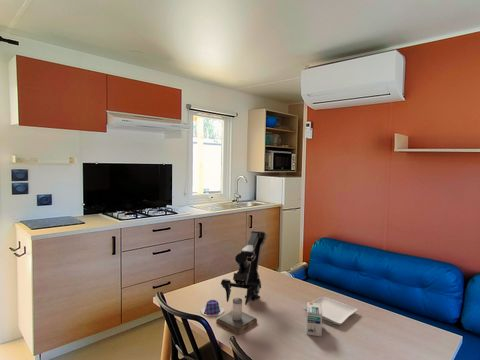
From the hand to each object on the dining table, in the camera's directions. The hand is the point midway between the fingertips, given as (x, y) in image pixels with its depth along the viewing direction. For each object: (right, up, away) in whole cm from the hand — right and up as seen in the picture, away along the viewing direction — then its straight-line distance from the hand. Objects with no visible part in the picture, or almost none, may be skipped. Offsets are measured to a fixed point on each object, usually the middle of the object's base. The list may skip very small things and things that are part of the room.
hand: (236, 303), depth 147 cm
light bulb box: (+37, -12, -2) cm, 38 cm away
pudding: (-13, -10, +13) cm, 21 cm away
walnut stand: (0, -10, +2) cm, 11 cm away
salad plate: (+49, -11, +14) cm, 52 cm away
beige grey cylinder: (0, -8, +2) cm, 8 cm away
